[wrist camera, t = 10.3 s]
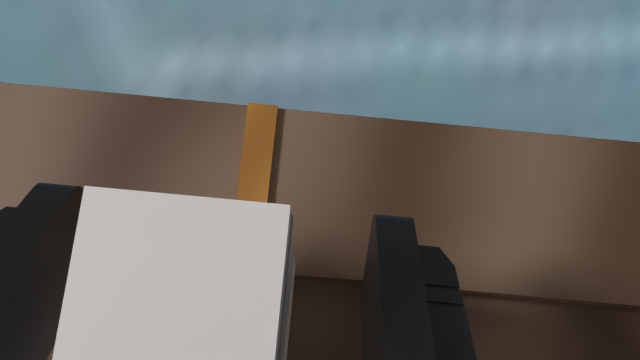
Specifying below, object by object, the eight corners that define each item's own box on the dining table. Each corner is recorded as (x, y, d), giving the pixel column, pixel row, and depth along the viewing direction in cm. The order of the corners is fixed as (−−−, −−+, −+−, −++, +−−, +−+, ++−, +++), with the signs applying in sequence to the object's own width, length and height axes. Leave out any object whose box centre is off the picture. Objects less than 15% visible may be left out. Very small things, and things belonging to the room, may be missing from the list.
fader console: (815, 183, 19) (889, 163, 16) (864, 627, 16) (961, 679, 14) (6, 107, 18) (-37, 76, 16) (-92, 545, 16) (-161, 583, 13)
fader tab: (296, 271, 16) (292, 203, 7) (283, 410, 15) (259, 524, 6) (202, 262, 16) (82, 184, 7) (183, 401, 15) (23, 504, 6)
